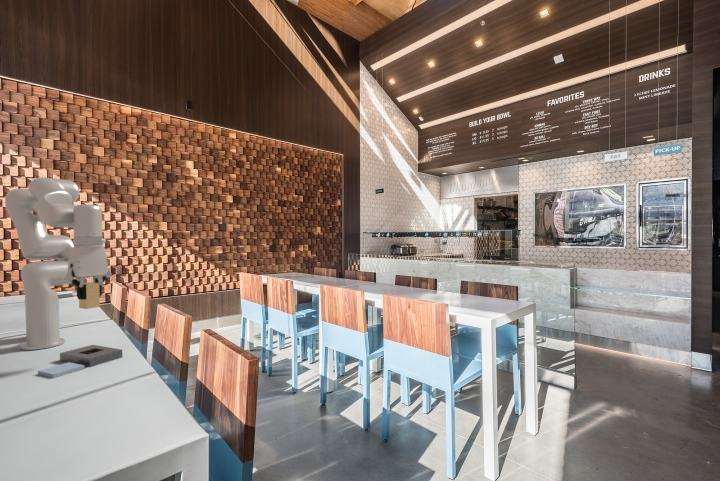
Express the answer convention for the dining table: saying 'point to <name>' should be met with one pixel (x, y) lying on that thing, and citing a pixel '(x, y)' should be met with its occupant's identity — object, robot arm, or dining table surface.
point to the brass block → (90, 296)
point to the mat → (61, 369)
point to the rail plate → (91, 355)
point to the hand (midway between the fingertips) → (89, 297)
